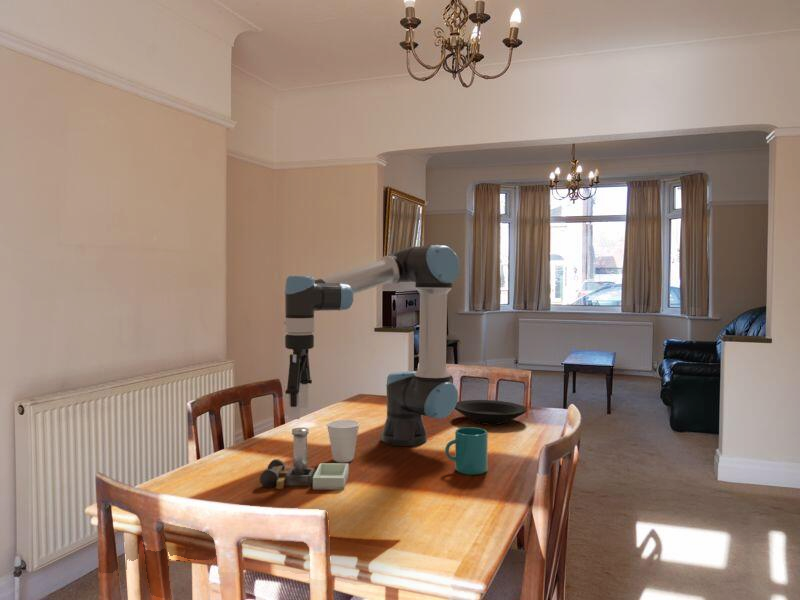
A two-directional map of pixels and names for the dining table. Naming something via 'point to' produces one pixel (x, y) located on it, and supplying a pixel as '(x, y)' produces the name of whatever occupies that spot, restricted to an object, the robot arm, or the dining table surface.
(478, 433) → the cup
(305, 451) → the pin
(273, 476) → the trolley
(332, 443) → the cup
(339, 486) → the tray
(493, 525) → the dining table surface
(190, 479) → the dining table surface
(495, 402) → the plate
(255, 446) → the dining table surface
